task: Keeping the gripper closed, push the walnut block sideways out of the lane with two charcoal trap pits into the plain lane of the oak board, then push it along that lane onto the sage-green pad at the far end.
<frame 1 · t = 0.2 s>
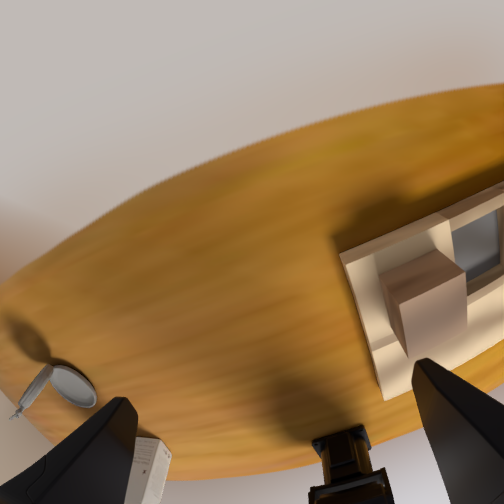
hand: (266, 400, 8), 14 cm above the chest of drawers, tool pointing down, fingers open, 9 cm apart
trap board: (476, 279, 22), on the chest of drawers
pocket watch: (68, 375, 29), on the chest of drawers
skincare box: (147, 444, 33), on the chest of drawers
walnut block: (414, 289, 20), point 2 cm above the chest of drawers, touching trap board
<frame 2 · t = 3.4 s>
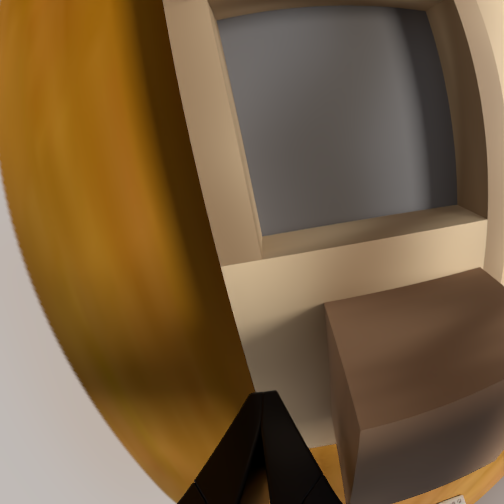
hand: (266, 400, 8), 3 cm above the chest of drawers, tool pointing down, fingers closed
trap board: (454, 97, 7), on the chest of drawers
walnut block: (405, 353, 8), point 2 cm above the chest of drawers, touching gripper
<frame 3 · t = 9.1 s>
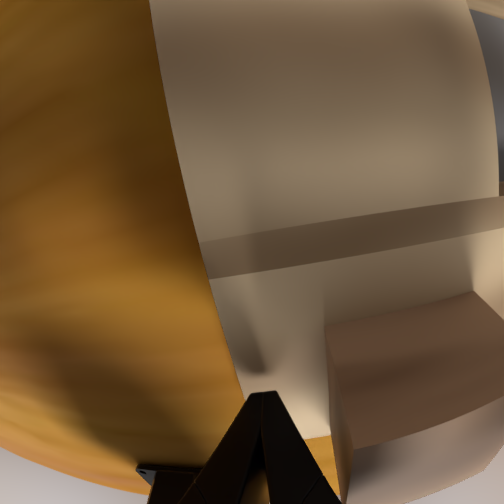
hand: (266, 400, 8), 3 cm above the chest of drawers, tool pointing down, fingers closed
walnut block: (400, 370, 9), point 2 cm above the chest of drawers, touching gripper
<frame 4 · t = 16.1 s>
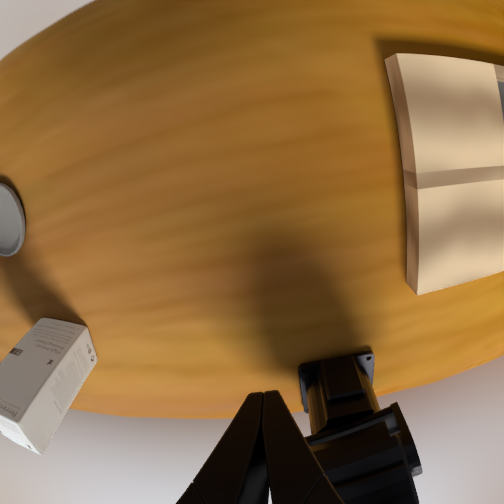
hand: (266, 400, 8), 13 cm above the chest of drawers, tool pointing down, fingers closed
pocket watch: (2, 205, 20), on the chest of drawers
skincare box: (69, 338, 25), on the chest of drawers
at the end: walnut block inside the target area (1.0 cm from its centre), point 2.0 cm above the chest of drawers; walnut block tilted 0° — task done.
